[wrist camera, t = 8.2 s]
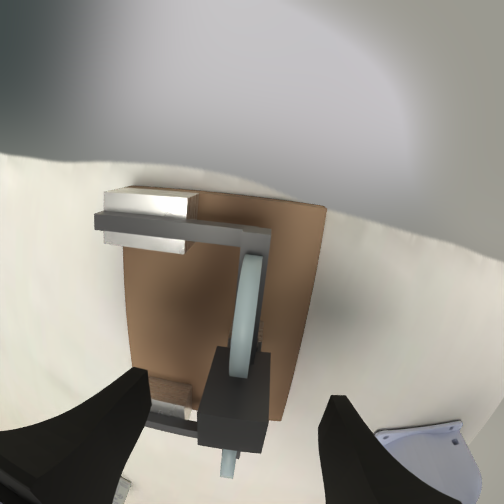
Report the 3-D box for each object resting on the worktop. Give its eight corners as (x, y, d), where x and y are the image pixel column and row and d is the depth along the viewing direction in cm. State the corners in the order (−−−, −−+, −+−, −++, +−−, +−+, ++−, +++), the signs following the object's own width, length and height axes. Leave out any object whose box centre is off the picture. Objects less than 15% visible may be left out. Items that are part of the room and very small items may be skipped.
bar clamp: (288, 226, 12) (299, 270, 7) (253, 437, 16) (247, 505, 11) (103, 207, 12) (29, 233, 7) (126, 412, 16) (97, 469, 11)
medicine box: (101, 462, 24) (74, 517, 16) (133, 483, 25) (111, 538, 16) (80, 472, 26) (57, 517, 18) (108, 490, 27) (88, 535, 18)
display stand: (323, 205, 15) (335, 216, 12) (280, 411, 19) (281, 443, 16) (132, 185, 15) (103, 191, 12) (141, 387, 19) (127, 415, 16)
